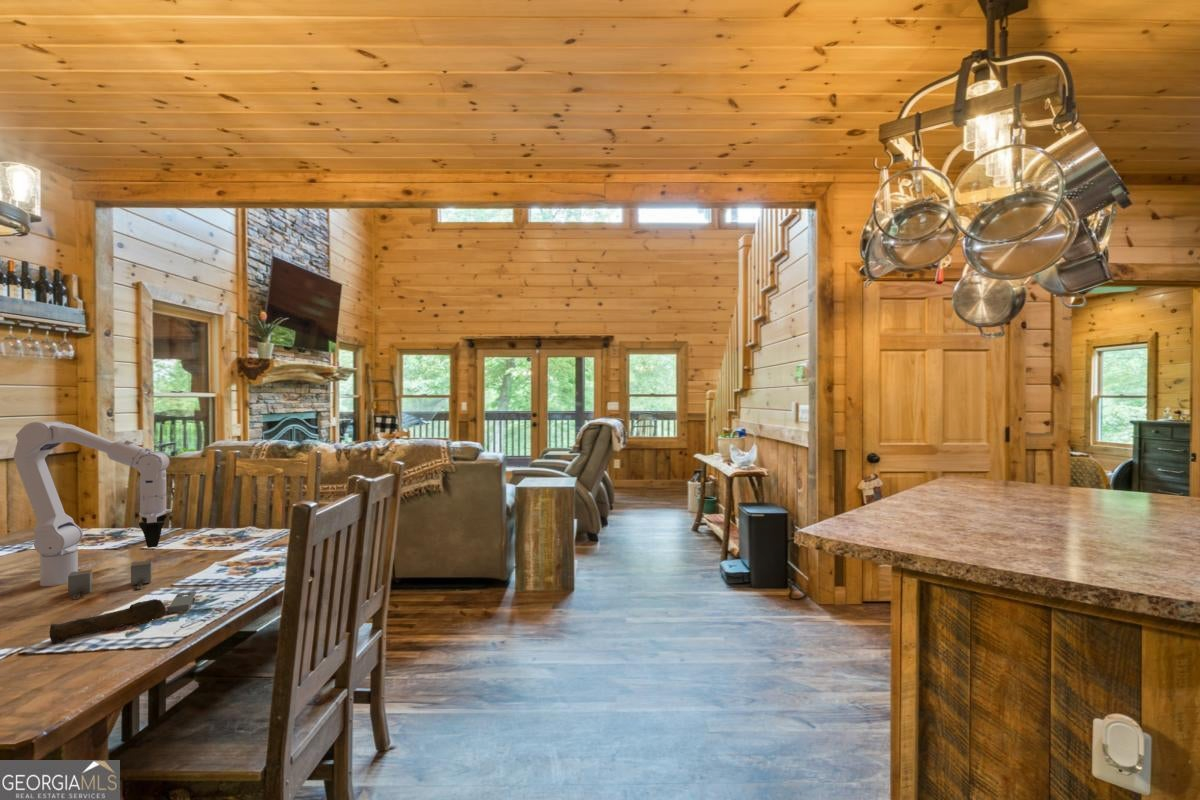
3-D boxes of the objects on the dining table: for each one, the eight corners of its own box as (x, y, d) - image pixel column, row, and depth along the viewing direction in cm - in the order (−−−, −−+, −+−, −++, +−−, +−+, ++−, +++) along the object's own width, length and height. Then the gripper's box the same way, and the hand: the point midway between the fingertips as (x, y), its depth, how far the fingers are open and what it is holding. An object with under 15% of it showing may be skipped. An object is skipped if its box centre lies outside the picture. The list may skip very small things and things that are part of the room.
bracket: (167, 615, 129) (167, 607, 129) (177, 601, 138) (177, 593, 138) (188, 612, 131) (188, 604, 131) (196, 598, 140) (196, 590, 140)
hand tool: (49, 647, 112) (49, 624, 112) (49, 641, 115) (49, 619, 115) (167, 620, 126) (167, 600, 126) (164, 615, 129) (164, 595, 129)
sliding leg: (132, 581, 148) (132, 562, 148) (151, 578, 150) (151, 559, 150) (129, 590, 141) (129, 570, 141) (149, 587, 143) (149, 567, 143)
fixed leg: (71, 591, 141) (71, 572, 141) (92, 588, 143) (92, 569, 143) (64, 601, 134) (64, 581, 134) (86, 598, 136) (86, 578, 136)
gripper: (170, 497, 151) (170, 547, 151) (172, 490, 163) (172, 536, 163) (136, 500, 147) (136, 551, 147) (141, 492, 159) (141, 540, 159)
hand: (153, 544), depth 155 cm, fingers open, 7 cm apart
